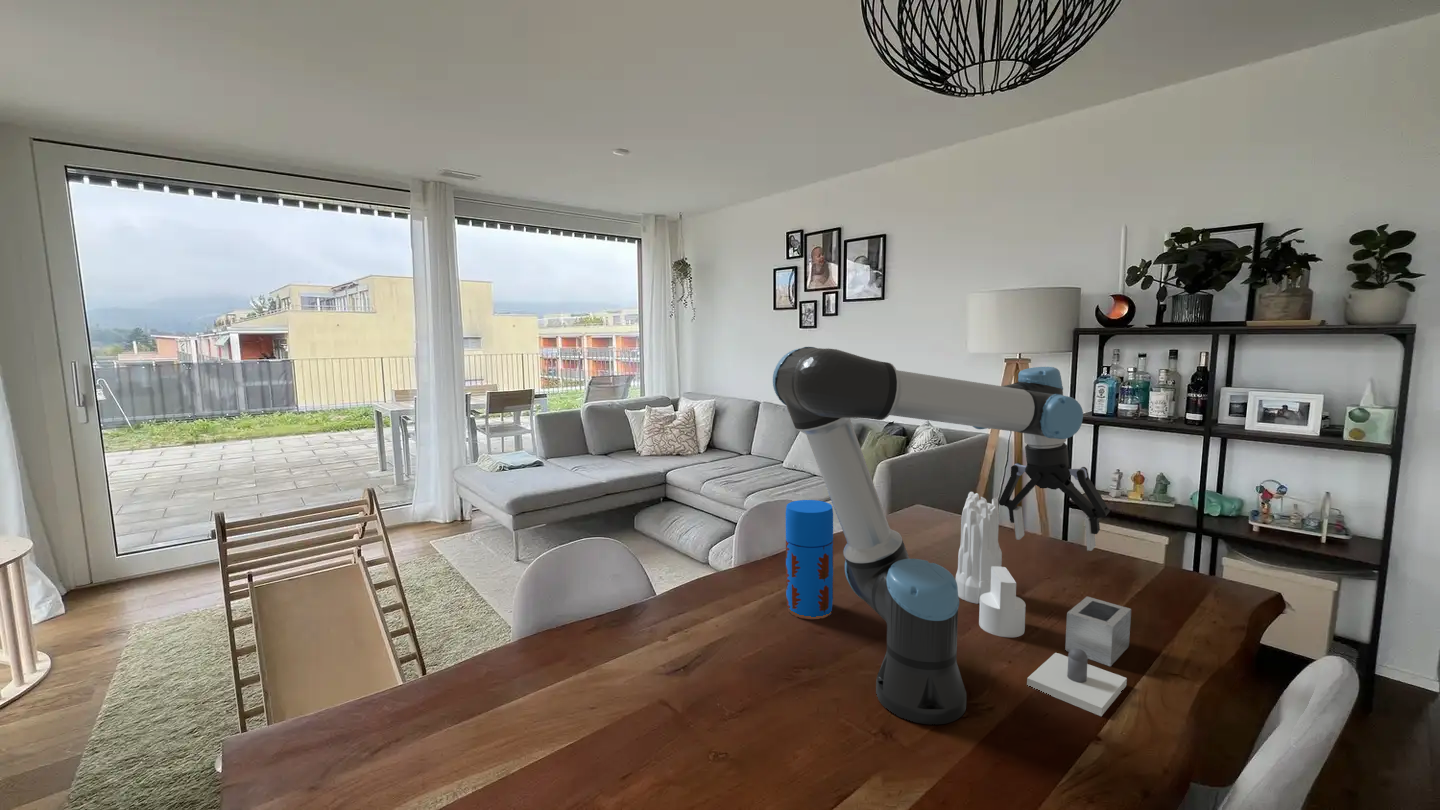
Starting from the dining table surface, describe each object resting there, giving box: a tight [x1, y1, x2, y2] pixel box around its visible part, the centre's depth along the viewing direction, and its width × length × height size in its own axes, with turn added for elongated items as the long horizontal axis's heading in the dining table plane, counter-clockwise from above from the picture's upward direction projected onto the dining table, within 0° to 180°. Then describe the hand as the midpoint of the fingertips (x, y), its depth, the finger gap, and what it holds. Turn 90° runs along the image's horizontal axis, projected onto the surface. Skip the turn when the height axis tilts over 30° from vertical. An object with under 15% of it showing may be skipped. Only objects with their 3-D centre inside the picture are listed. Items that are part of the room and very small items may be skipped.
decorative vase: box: [955, 491, 1003, 605], centre depth 146 cm, size 11×11×25 cm
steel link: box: [1064, 596, 1132, 667], centre depth 121 cm, size 11×8×8 cm
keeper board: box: [1026, 648, 1128, 717], centre depth 109 cm, size 13×12×7 cm
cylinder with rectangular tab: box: [978, 566, 1026, 638], centre depth 131 cm, size 9×9×12 cm
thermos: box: [785, 499, 834, 617], centre depth 140 cm, size 11×11×25 cm
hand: (1054, 542), depth 125 cm, fingers open, 13 cm apart
